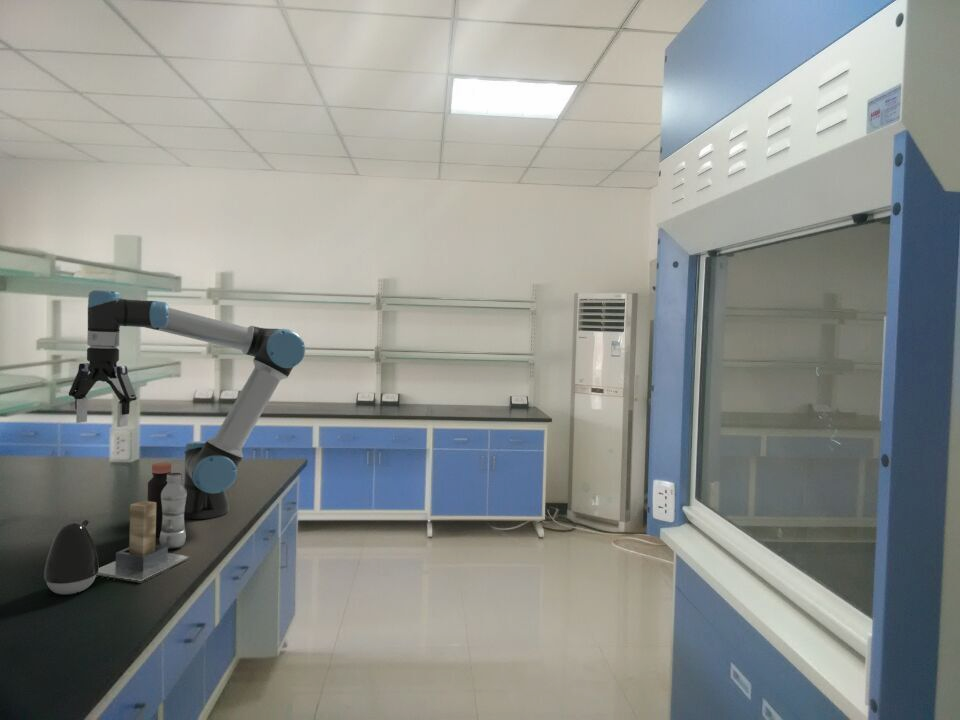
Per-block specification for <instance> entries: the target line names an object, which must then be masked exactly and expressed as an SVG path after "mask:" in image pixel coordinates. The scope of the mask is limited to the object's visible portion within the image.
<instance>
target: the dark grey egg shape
mask: <svg viewBox="0 0 960 720" xmlns="http://www.w3.org/2000/svg"><path fill="white" fill-rule="evenodd" d="M89 523H90V522H89V520H88V519H84V520H83V521H82V522H81V523H80V522H69V523H67V524H64V526H62V527H61V528H60V529H59V530H58V532H57V533H56V535H55V537H54V539H53V541H52V542H51V545H50V549H49V552H48V553H47V554H48V555H47V557H46V562H45V566H44V573H43V580H45V582H46V585H47V586H48V588H49V590H51V591H52V592H53V593H55V594H59V595H64V596H65V595H74V594H78V593H80V592H82V591H85V590H86V589H89V587H90V586H91V585H92V584H93V583H94V581H95V579H96V577H97V576H96V574H97V573H98V571H99V568H100V567H99V565H100V564H99V558H98V554H97V553H98V552H97V548H96V545H95V542H94V540H93V537H92V535H91V533H90V531H89V530H88V528H87V526H88V524H89ZM77 592H78V593H77Z"/></svg>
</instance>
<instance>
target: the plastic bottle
mask: <svg viewBox="0 0 960 720" xmlns="http://www.w3.org/2000/svg"><path fill="white" fill-rule="evenodd" d="M166 481H167V482H168V483H167V485H166V486H165V487H164V489H163V490H162V493H161V502H162V514H163V515H162V516H163V519H162V528H161V533H160V536H159V545H162V546H168V550H169V549H170V550H171V549H178V548H180V547H182V546H183V545H184V544H185V543H186V540H187V539H186V538H187V532H186V528H185V518H184V511H185V503H186V498H187V491H186V489H185V487H184V483H182V481H183V474H182V473H181V472H171V473H169V474H167V480H166Z"/></svg>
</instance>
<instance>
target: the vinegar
mask: <svg viewBox="0 0 960 720" xmlns="http://www.w3.org/2000/svg"><path fill="white" fill-rule="evenodd" d="M169 473H172V463H170V462H155V463H153V464H151V474H152V477H151V479H150V480H149V481H148V482H147V500H146V501H150V502H156V536H159V537H160V533H161V528H162V519H163V516H162V515H163V514H162V502H161V493H162V490H163V489H164V487H165V486H166V485H167V483H168V482H167V481H166V480H167V474H169Z"/></svg>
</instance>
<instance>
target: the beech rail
mask: <svg viewBox="0 0 960 720" xmlns="http://www.w3.org/2000/svg"><path fill="white" fill-rule="evenodd" d="M128 543H129V544H128V545H129V546H128V548H129V553H132V554H138V555H145V554H147V553H149V552H152V551H154V550H155V544H156V502H150V501H147V500H140V501H138V502H134V503H130V506H129V541H128Z"/></svg>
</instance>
